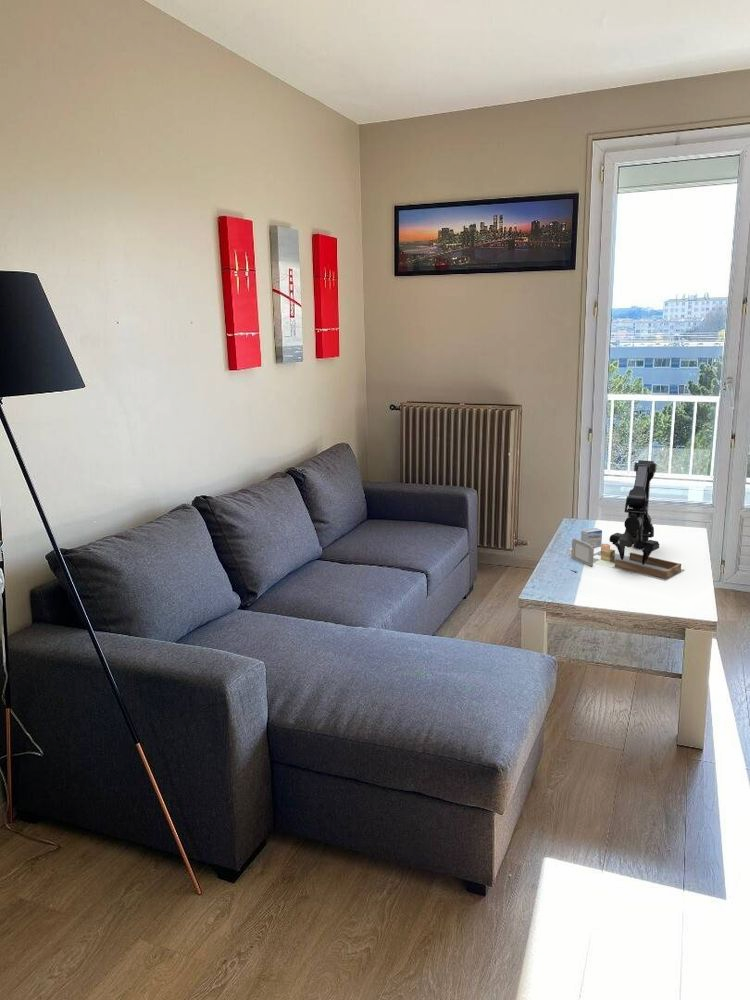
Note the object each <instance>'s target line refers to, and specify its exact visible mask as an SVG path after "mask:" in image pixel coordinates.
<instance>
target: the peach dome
mask: <svg viewBox="0 0 750 1000" xmlns="http://www.w3.org/2000/svg"><path fill="white" fill-rule="evenodd" d="M605 548H608V549H611V544H609V543H602V544H601V547H600V551H601V550H603V549H605Z"/></svg>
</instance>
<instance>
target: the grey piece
mask: <svg viewBox="0 0 750 1000" xmlns="http://www.w3.org/2000/svg"><path fill="white" fill-rule="evenodd" d="M571 547H572V550H571V551H572V554H571V556H570V557H571V558H573V560H575V561H578V562H579V563H582V564H584V565H586V566H589V567H593V566H594V563H593V558H594V556H593V555H594V554H595V553H594V552H595V548H593V546H592V545H590V544H587V543H585V542H583V541H581V539H578V538H573V539H572V541H571ZM570 571H571V572H573V573H578V571H577V570H572V569H570Z"/></svg>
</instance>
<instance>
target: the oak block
mask: <svg viewBox="0 0 750 1000" xmlns="http://www.w3.org/2000/svg"><path fill="white" fill-rule="evenodd" d="M600 551H601V556H600V560H605V561H609V562H610V561H612V560H614V559H615V554H616V550H615V549H612V548H610V549H608V548H605V549H603V550H601V549H600Z"/></svg>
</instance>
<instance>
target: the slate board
mask: <svg viewBox="0 0 750 1000" xmlns="http://www.w3.org/2000/svg"><path fill="white" fill-rule="evenodd" d="M595 556H599V557H601V550H600V551H598V552H595V553H594V555H593V564H595V565H599V566H604V567H607V568H611V569H616V570H620V571H623V572H626V573H627V572H628V573H631V574H636V575H638V576H643V577H648V578H651V579H654V580H655V579H656V580H659V581H664V582H667V581H669V580H670V579H672V578H674V577H676V576H677V575H680V574H681V573H682V572H685V571H686V569H684V568H683V569H682V568H681V571H680V572H678V573H677V574H675V575H673V576H671V577H669V578H668V579H662V578H658V577H654V576H650V575H646V574H642V573H638V572H634V571H630V570H626V569H622V568H618V567H615V560H616V559H617V560H621V558H620V554H619V553H615V559H614V560H612V561H610V562H609V561H605V560H601V558H595ZM629 558H630V556H627V555H624V558H623V560H621V561H626V562H630V563H634V564H638V565H642V563H641V562H636V561H632V560H629ZM642 566H646V567H651V568H655V569H659V570H663V571H666V570H668V569H666V568H662V567H658V566H653V565H649V564H644V565H642Z"/></svg>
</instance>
